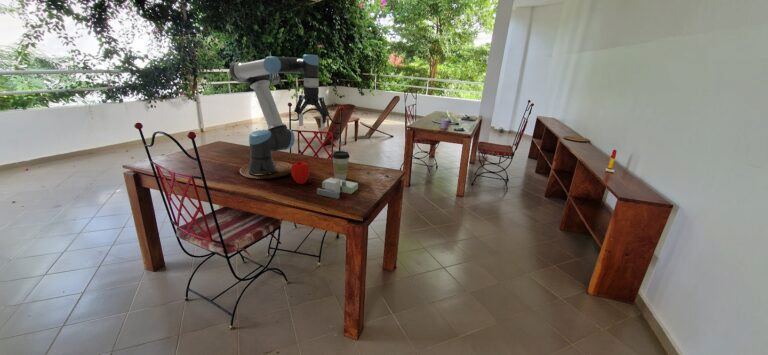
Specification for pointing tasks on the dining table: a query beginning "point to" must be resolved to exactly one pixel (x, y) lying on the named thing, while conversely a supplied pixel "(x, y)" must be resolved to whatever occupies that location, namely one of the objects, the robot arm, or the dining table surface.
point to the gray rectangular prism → (332, 185)
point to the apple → (300, 172)
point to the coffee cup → (340, 164)
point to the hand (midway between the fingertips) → (311, 127)
